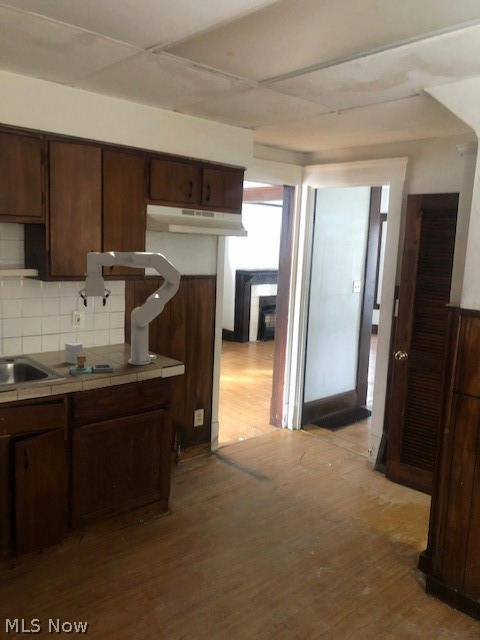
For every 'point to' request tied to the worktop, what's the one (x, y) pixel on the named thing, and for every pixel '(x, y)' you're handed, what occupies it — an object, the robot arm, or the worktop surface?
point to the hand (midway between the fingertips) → (94, 306)
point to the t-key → (81, 361)
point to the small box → (72, 352)
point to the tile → (74, 371)
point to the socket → (102, 368)
